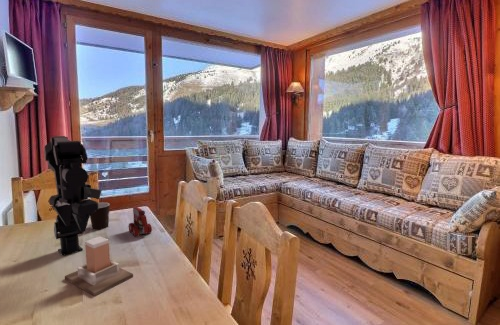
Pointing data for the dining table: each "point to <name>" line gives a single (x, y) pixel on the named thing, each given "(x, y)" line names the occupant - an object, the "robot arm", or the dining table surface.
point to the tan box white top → (97, 254)
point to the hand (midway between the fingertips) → (75, 228)
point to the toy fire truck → (139, 223)
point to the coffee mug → (100, 217)
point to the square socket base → (98, 278)
